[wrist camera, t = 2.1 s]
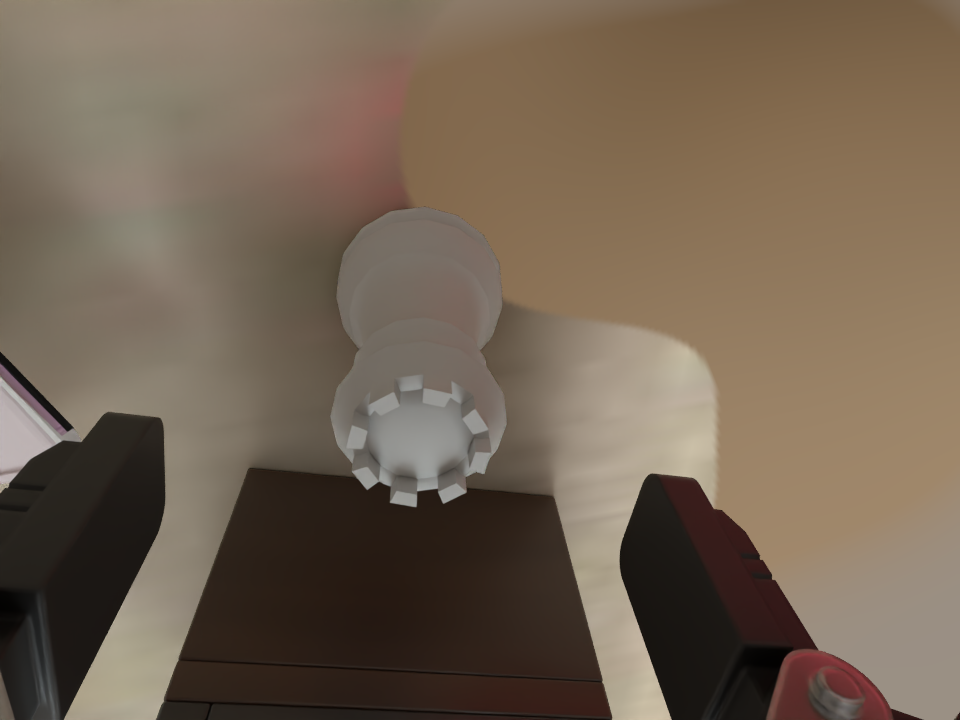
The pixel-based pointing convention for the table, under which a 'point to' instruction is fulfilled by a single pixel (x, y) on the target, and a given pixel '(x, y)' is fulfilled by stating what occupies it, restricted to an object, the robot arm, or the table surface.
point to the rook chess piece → (419, 354)
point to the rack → (387, 610)
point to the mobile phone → (26, 422)
